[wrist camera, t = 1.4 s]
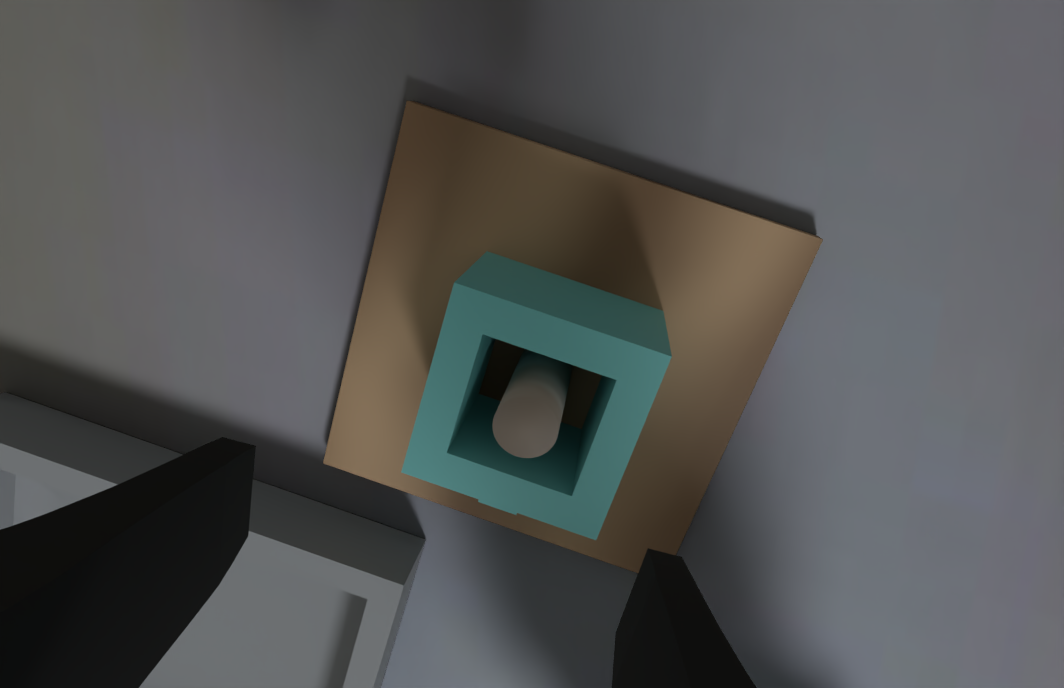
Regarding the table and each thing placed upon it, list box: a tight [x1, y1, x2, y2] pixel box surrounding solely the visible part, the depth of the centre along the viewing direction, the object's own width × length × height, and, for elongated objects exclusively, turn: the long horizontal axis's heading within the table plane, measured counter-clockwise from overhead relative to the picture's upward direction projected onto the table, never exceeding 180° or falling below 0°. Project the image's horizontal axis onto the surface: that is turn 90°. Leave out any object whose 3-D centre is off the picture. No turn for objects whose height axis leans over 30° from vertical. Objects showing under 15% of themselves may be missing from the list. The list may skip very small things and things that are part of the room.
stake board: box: [323, 101, 823, 573], centre depth 19 cm, size 12×12×5 cm
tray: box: [0, 392, 426, 688], centre depth 25 cm, size 16×14×2 cm
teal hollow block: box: [401, 251, 672, 540], centre depth 19 cm, size 5×7×4 cm
